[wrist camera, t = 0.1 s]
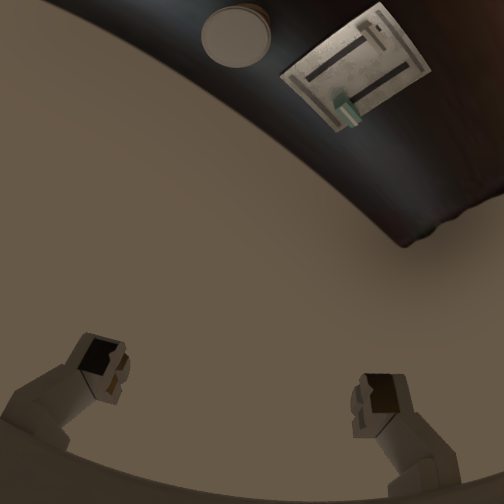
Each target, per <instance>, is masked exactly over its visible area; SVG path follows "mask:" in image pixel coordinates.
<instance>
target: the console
mask: <svg viewBox="0 0 504 504" xmlns="http://www.w3.org/2000/svg"><path fill="white" fill-rule="evenodd" d="M367 20H368V21H370V22H371V23H372V24H373V25H374V26H375V27H376V29H377V30H378V31H379V32H380V33H381V35H382V36H383V37H384V38H385V40H386V41H387V42H388V43H389V45H390V47H388V48H387V50H385V51H382V52H381V53H379V54H378V52H377V51H376V50H375V49H374V48H373V46H372V45H371V44H370V43H369V42H368V40H367V39H366V38H365V37H364V36H363V35H362V33H361V32H360V31H359V30H358V29H357V28H356V27H358V26H359V25H361V24H362V23H364V22H365V21H367ZM429 72H431V69H430V68H429V66H428V65H427V63H426V62H425V60H424V59H423V57H422V56H421V54H420V53H419V52H418V50H417V49H416V47H415V46H414V44H413V43H412V42H411V40H410V39H409V38H408V36H407V35H406V34H405V32H404V31H403V30H402V28H401V27H400V26H399V24H398V23H397V22H396V21H395V19H394V18H393V17H392V16H391V14H390V13H389V12H388V11H387V10H386V8H385V7H384V6H383V5H382V4H381V3H380V2H379V1H377V2H375V3H373V4H372V5H371V6H369V7H368V8H366V9H365V10H363V11H362V12H360V13H359V14H357V15H356V16H354V17H353V18H352V19H350V20H349V21H347V22H346V23H345V24H343V25H342V26H341V27H339V28H338V29H336V30H335V31H334V32H332V33H331V34H330V35H328V36H327V37H326V38H324V39H323V40H322V41H320V42H319V43H318V44H317V45H315V46H314V47H313V48H311V49H310V50H309V51H308V52H306V53H305V54H304V55H303V56H301V57H300V58H299V59H298V60H296V61H295V62H294V63H293V64H291V65H290V66H289V67H288V68H287V69H285V70H284V71H283V72H282V73H281V74H280V78H281V79H283V80H284V81H285V82H286V83H287V84H288V85H289V86H290V87H291V88H292V89H293V90H294V91H295V92H296V93H298V94H299V95H300V96H301V97H302V98H303V99H304V100H305V101H306V102H307V103H308V104H309V105H310V106H311V107H312V108H313V109H314V110H315V111H316V112H317V113H318V114H319V115H320V116H321V117H322V118H323V119H324V120H325V121H326V122H327V123H328V124H329V125H330V127H331V128H332V129H333V130H334V131H335V132H336V133H337V132H339V131H340V130H342V129H343V128H345V127H346V126H348V124H347V123H346V122H345V121H344V120H343V118H342V117H341V116H340V115H339V114H338V113H337V112H336V111H335V108H334V104H333V100H334V99H336V98H337V97H338V96H340V95H341V94H343V93H344V94H345V95H346V97H347V98H348V99H349V100H350V101H351V102H352V103H353V104H354V106H355V107H356V108H357V109H358V110H359V113H360V116H362V115H364V114H365V113H367V112H368V111H370V110H371V109H373V108H374V107H376V106H378V105H379V104H381V103H382V102H384V101H385V100H387V99H388V98H390V97H391V96H393V95H394V94H396V93H398V92H399V91H401V90H402V89H404V88H405V87H407V86H408V85H410V84H412V83H413V82H415V81H416V80H418V79H420V78H421V77H423V76H424V75H426V74H428V73H429Z"/></svg>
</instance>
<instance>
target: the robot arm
mask: <svg viewBox="0 0 504 504" xmlns="http://www.w3.org/2000/svg"><path fill="white" fill-rule="evenodd" d="M125 350H126V346H125V343H124V342H121V341H117V340H113V339H109V338H105V337H102V336H98V335H95V334H91V333H87V332H86V333H84V334H83V335H82V336H81V338H80V340H79V341H78V343H77V344H76V346H75V348H74V350H73V351H72V353H71V355H70V356H69V358H68V360H67V362H66V363H65V365H63V364H61V365H59V366H57V367H55V368H54V369H52V370H50V371H48V372H47V373H45V374H44V375H42V376H40V377H38V378H36V379H35V380H33V381H31V382H30V383H28V384H26V385H24V386H23V387H21V388H19V389H18V390H16V391H15V392H14V393H13V395H12V397H11V399H10V400H9V402H8V404H7V406H6V408H5V409H4V411H3V413H2V415H1V417H0V504H504V472H500V473H498V474H494V475H491V476H488V477H485V478H481V479H478V480H474V481H471V482H467V483H463V484H462V483H461V477H460V472H459V467H458V462H457V458H456V453H455V452H454V451H453V450H452V449H451V447H450V446H449V445H448V444H447V443H445V441H444V440H443V439H442V438H441V437H440V436H439V435H438V434H437V432H436V431H435V430H434V429H433V428H432V427H431V426H430V425H429V424H428V423H427V422H426V421H425V420H424V419H423V418H422V417H421V415H420V414H419V413H417V412H416V413H414V409H413V405H412V401H411V397H410V392H409V388H408V384H407V380H406V377H405V376H404V374H368V373H364V374H363V375H362V376H361V377H360V379H359V381H360V384H359V385H358V386H356V387H355V388H354V390H353V392H352V397H351V412H352V413H353V414H354V415H355V416H356V417H355V418H354V420H353V421H352V427H353V438H376V439H375V440H376V441H377V442H378V444H379V446H380V447H381V448H382V450H383V451H384V453H385V454H386V456H387V457H388V459H389V460H390V461H391V463H392V464H393V466H394V467H395V469H396V470H397V472H398V473H399V475H400V476H399V477H397V478H396V479H395V480H393V481H392V482H391V483H390V484H389V485H388V497H387V498H378V499H368V500H355V501H354V500H353V501H328V502H302V501H277V500H264V499H252V498H243V497H235V496H228V495H221V494H214V493H208V492H202V491H197V490H192V489H187V488H182V487H177V486H173V485H169V484H164V483H160V482H156V481H152V480H149V479H145V478H141V477H138V476H134V475H131V474H128V473H125V472H121V471H118V470H115V469H112V468H109V467H106V466H103V465H101V464H98V463H95V462H92V461H90V460H87V459H84V458H82V457H79V456H77V455H74V454H72V453H69V452H67V451H66V450H67V447H68V445H69V442H70V439H69V437H68V435H67V434H66V433H65V432H64V431H63V429H62V427H63V426H65V425H66V424H67V423H68V422H70V421H71V420H72V419H73V418H75V417H76V416H77V415H78V414H80V413H81V412H82V411H83V410H85V409H86V408H87V407H88V406H90V405H91V404H92V403H93V402H95V399H96V400H99V401H103V402H106V403H110V404H114V405H116V404H117V402H118V399H119V397H120V395H121V392H122V389H121V384H122V383H124V382H125V381H126V380H127V377H128V375H129V371H130V360H129V356H127V355H126V354H125V353H124V352H125Z"/></svg>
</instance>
